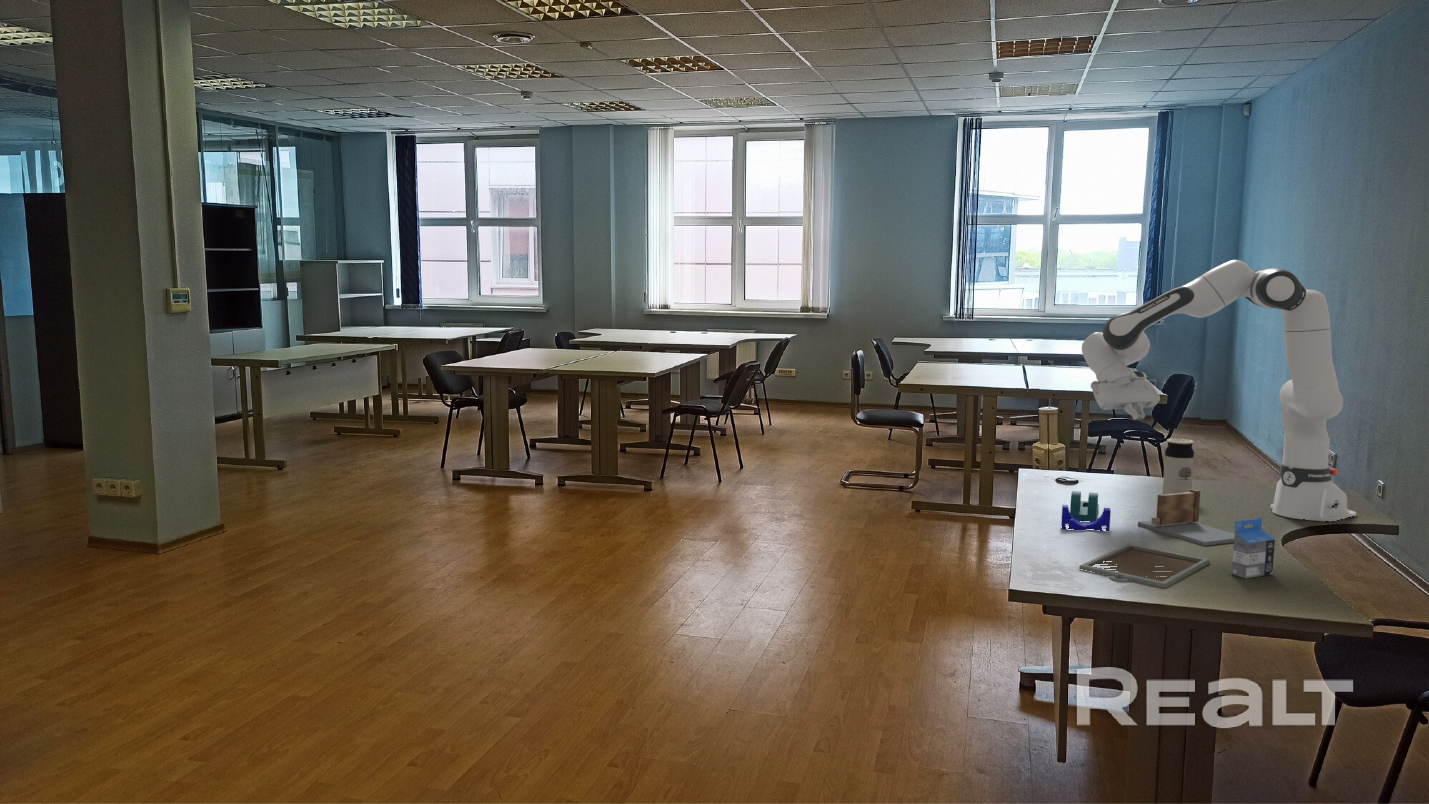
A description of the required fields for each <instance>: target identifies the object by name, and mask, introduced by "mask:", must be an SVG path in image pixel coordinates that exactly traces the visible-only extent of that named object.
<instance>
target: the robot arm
mask: <svg viewBox="0 0 1429 804" xmlns="http://www.w3.org/2000/svg"><path fill="white" fill-rule="evenodd" d="M1251 268H1252V267H1250V266H1249V265H1248V264H1247V263H1246V262H1244V261H1243V260H1240V259H1231V260H1229V261H1227V262H1224V263H1222V264H1220V265H1217V266H1216V267H1213V268H1212V269H1210V270H1208V271H1206V272H1205V273H1203V274H1202V275H1200V276H1198V277H1197V278H1195V279H1192V280H1191V281H1190V282H1187V283H1186V284H1184V285H1182V286H1179V287H1176V288H1173V289H1170V290H1168V291H1167V292H1164V293H1163V294H1161V295H1159V296H1156V297H1155V298H1153V299H1151V300H1149V301H1147V302H1146V303H1144V304H1142V305H1140V306H1138V307H1136V308H1134V309H1133V310H1129V311H1125V312H1122V313H1118V314H1115V315H1113V316H1112V317H1110V318H1109V319H1108V320H1107V321H1106V322H1105V324H1104V326H1103V329H1102V332H1100V331H1096V332H1093V333H1091V334H1089V335H1088V336H1087V337H1086V338H1085V339H1084V341H1082V342H1083V343H1082V344H1081V353H1082V356H1083V357H1084V360H1085V362H1086V364H1087V365H1088V367H1089V368H1090V370H1091V371H1092V372H1093V373H1094V374H1095V377H1096V380H1094V381H1092V382H1091V383H1090V389H1091V390H1092V395H1094V396H1093V397H1094V399H1095V401H1096V403H1097V405H1098V407H1099V408H1100V409H1102V410H1104V411H1106V410H1109V411H1110V410H1122V409H1123V410H1124V411H1125V412H1126V413H1127V414H1128V415H1130V416H1131V417H1132V418H1133V420H1134V421H1135V420H1144V418H1145V417H1146V413H1144V408H1145V409H1146V408H1154V407H1155V406H1156V405H1157V404H1158V403H1159V402H1160V400H1161V397H1160V396H1161V395H1160V394H1159V393H1158V391H1157V389H1156V388H1155V386H1154V385H1153V383H1152V382H1150V381H1149V380H1148V379H1147V378H1148V376H1147V374H1146V373H1145V372H1144V371H1140V370H1135V369H1133V368H1130V367H1128V366H1130V365H1133V364H1135V363H1138V362H1140V361H1141V360H1144V359H1145V357H1147V356H1148V355H1149V353H1150V351H1151V342H1150V339H1149V337H1148V336H1147V334H1146V333H1145V332H1144V331H1145V330H1146V329H1148V328H1150V327H1152V326H1153V325H1154V324H1157V323H1159V322H1160V321H1162V320H1164V319H1166V318H1168V317H1170V316H1172V315H1177V314H1184V315H1188V316H1190V317H1194V318H1200V319H1202V318H1207V317H1209V316H1212V315H1214V314H1215V313H1219V311H1221V310H1222V309H1225V307H1227V306H1229V305H1230V304H1232V303H1233V302H1235V301H1236V300H1240V299H1242V298H1245V299H1246V300H1248V301H1249V302H1251V303H1252V304H1254V305H1256V306H1258V307H1261V308H1266V309H1278V311H1280V312H1281V314H1282V316H1283V317H1282V318H1283V319H1284V320H1283V321H1284V329H1283V330H1284V351H1285V354H1284V355H1285V360H1286V361H1285V362H1286V363H1287V365H1288V369H1289V372H1290V373H1289V374H1290V377H1291V379H1289V380H1287V381H1286V382H1285V383H1284V384H1283V385H1282V386H1281V388H1280V389H1279V390H1280V391H1279V401H1280V403H1281V417H1282V427H1283V450H1282V451H1283V452H1282V463H1280V465H1279V466H1280V467H1279V477H1280V478H1279V480H1278V481H1277V483H1276V487H1275V493H1274V498H1273V503H1271V504H1270V509H1271V512H1272V513H1273V514H1275V515H1278V516H1281V517H1285V518H1290V519H1296V520H1303V519H1305V520H1304V521H1306V520H1307V521H1315V522H1316V521H1317V522H1325V521H1335V522H1338V521H1337V520H1339V521H1341V520H1340V519H1343V520H1346V519H1345V518H1347V517H1350V516H1354V517H1356V516H1355V515H1357V512H1356V511H1354V510H1351V509H1348V496H1347V494H1346V493H1345V492H1344V491H1343V490H1342V489H1340V488H1339V487H1338V486H1337V485H1336V484H1335V483H1334V482H1333V481H1332V476H1335V477H1336V476H1338V475H1339V469H1338V468H1333V467H1329V455H1330V444H1331V441H1330V440H1331V439H1330V436H1329V434H1328V430H1327V429H1328V428H1327V420H1330V419H1333V418H1335V417H1336V416H1337V415H1338V414H1339V413H1341V411H1342V409H1343V406H1344V398H1343V395H1342V393H1341V391H1340V388H1339V382H1338V378H1337V373H1336V369H1335V365H1334V360H1333V352H1332V350H1333V349H1332V332H1331V316H1330V312H1329V311H1330V310H1329V306H1328V303H1327V302H1328V301H1327V298H1326V296H1325V295H1324V294H1323V293H1322V292H1321V291H1318V290H1315V289H1306V288H1305V287H1304V286H1303V284H1302V283H1301V282H1300V280H1299V278H1298V277H1297V276H1296V275H1295V274H1294V273H1293V272H1291V270H1288V269H1284V268H1277V267H1275V268H1267V269H1259V270H1253V269H1251ZM1357 516H1358V515H1357ZM1347 519H1348V518H1347Z"/></svg>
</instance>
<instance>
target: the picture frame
mask: <svg viewBox="0 0 1429 804" xmlns="http://www.w3.org/2000/svg"><path fill="white" fill-rule="evenodd" d="M1103 561H1105V562H1104V563H1103ZM1106 561H1112V562H1106ZM1210 561H1211V560H1210V559H1209V558H1205V557H1201V556H1195V555H1190V554H1185V553H1179V552H1174V551H1168V550H1164V549H1161V548H1160V549H1159V548H1154V547H1149V546H1143V545H1138V544H1133V543H1127V544H1125V545H1122V546H1119V547H1118V548H1115V549H1114V550H1111V551H1109V552H1107V553H1104V554H1103V555H1099V556H1097V557H1096V558H1093V559H1090V560H1089V561H1087V562H1085V563H1082V564H1081V565H1079V569H1083V570H1087V571H1092V572H1095V573H1094V574H1096V573H1099V574H1098V575H1101V574H1104V575H1103V576H1105V575H1106V577H1107V576H1109V577H1108V579H1110V581H1113V582H1116V581H1117V582H1118V583H1130V582H1131V583H1138V584H1141V585H1147V586H1151V587H1156V588H1160V589H1166V588H1168V587H1171V586H1172V585H1174V584H1176V583H1177V582H1179V581H1181V580H1182V579H1184V578H1186V577H1188V576H1189V574H1190V575H1191V574H1193V573H1195V572H1196V571H1198V570H1200V569H1202V568H1204V567H1206V566H1207V565H1209V564H1210ZM1095 564H1108V565H1100V566H1117V567H1110V568H1104V569H1102V568H1097V567H1092V566H1093V565H1095ZM1116 564H1117V565H1116ZM1155 566H1164V567H1155ZM1106 569H1116V570H1106ZM1087 571H1086V572H1087ZM1115 571H1118V572H1115ZM1153 571H1154V572H1153ZM1155 571H1172V572H1155ZM1146 576H1147V577H1146ZM1156 576H1157V577H1156ZM1158 576H1159V577H1158ZM1160 576H1167V577H1160ZM1171 576H1172V577H1171ZM1180 579H1181V580H1180Z"/></svg>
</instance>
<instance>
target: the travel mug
mask: <svg viewBox="0 0 1429 804" xmlns="http://www.w3.org/2000/svg"><path fill="white" fill-rule="evenodd" d="M1166 442H1167V447H1166V448H1165V450H1164V464H1163V465H1164V466H1163V482H1162V494H1172V493H1182V492H1189V490H1191V489H1193V478H1194V475H1193V474H1194V473H1193V472H1194V462H1195V461H1194V460H1195V451H1194V449H1193V444H1194V442H1195V441H1194V440H1191V439H1187V438H1167V439H1166Z"/></svg>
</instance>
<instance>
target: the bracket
mask: <svg viewBox="0 0 1429 804" xmlns="http://www.w3.org/2000/svg"><path fill="white" fill-rule="evenodd" d="M1099 505H1100V504H1099V493H1098V492H1088V500H1084V501H1083V500H1082V491H1075V490H1071V495H1070V508H1069V509H1070V510H1069V512H1070V514H1071V515H1072V517H1073V518H1075V519H1076V520H1078V521H1090V522H1093V521H1095V520H1096V519H1098V516H1097V515H1098V514H1099V509H1100V506H1099Z"/></svg>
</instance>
